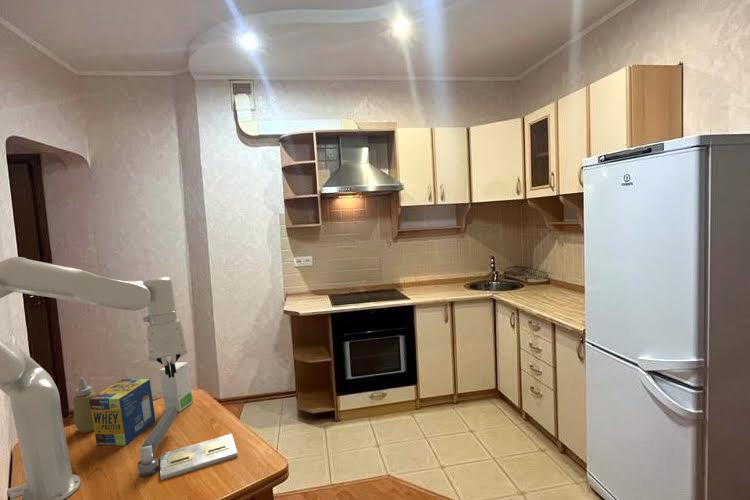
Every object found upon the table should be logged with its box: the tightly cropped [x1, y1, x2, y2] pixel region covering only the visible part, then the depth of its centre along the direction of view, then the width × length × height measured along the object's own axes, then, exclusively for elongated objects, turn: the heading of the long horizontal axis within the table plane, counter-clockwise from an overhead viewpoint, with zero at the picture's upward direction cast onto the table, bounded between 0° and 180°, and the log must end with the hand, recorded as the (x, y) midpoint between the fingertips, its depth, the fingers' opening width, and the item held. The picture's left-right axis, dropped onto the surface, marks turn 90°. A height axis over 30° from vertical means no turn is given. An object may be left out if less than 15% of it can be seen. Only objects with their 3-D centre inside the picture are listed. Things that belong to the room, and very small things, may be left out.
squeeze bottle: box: [72, 377, 97, 434], centre depth 150 cm, size 8×8×18 cm
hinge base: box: [137, 456, 160, 479], centre depth 123 cm, size 5×5×3 cm
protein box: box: [89, 378, 156, 447], centre depth 145 cm, size 10×15×16 cm
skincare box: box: [158, 361, 194, 413], centre depth 162 cm, size 8×7×16 cm
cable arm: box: [138, 406, 178, 465], centre depth 134 cm, size 26×3×4 cm, turn 8°
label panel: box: [159, 433, 239, 481], centre depth 129 cm, size 20×12×2 cm, turn 115°
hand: (171, 376), depth 136 cm, fingers closed
